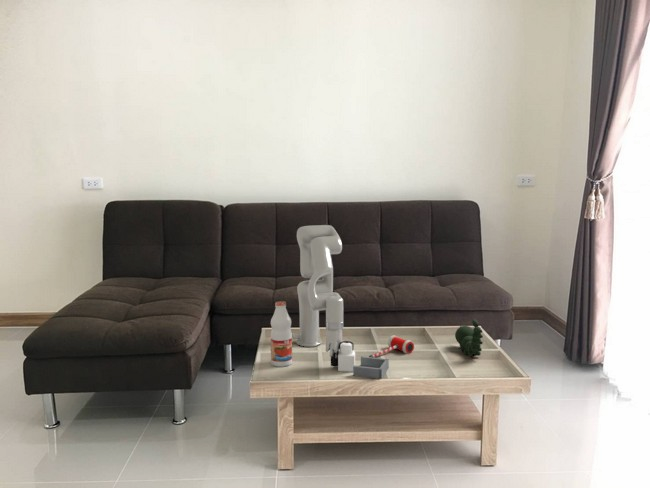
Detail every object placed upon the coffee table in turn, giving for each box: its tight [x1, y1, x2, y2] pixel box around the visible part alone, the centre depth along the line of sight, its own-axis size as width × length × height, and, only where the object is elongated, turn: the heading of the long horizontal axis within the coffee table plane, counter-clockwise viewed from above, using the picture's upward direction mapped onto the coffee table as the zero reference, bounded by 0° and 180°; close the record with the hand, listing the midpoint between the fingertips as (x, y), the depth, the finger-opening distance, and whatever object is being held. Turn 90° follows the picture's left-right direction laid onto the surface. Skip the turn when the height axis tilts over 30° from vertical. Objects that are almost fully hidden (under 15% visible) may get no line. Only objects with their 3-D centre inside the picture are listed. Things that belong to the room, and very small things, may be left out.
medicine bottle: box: [337, 340, 356, 373], centre depth 254 cm, size 7×7×12 cm
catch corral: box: [352, 356, 390, 380], centre depth 250 cm, size 12×13×4 cm
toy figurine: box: [454, 318, 484, 357], centre depth 275 cm, size 9×19×25 cm
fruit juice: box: [270, 300, 293, 368], centre depth 260 cm, size 9×9×28 cm
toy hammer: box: [368, 335, 415, 358], centre depth 273 cm, size 23×12×6 cm, turn 128°
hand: (334, 365), depth 256 cm, fingers closed
